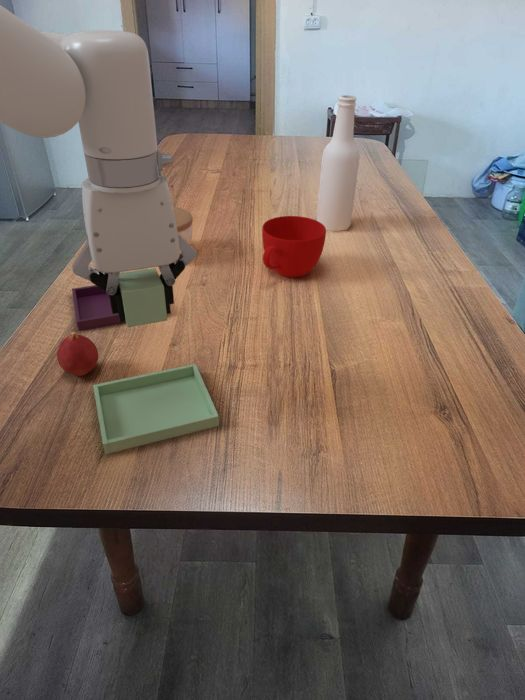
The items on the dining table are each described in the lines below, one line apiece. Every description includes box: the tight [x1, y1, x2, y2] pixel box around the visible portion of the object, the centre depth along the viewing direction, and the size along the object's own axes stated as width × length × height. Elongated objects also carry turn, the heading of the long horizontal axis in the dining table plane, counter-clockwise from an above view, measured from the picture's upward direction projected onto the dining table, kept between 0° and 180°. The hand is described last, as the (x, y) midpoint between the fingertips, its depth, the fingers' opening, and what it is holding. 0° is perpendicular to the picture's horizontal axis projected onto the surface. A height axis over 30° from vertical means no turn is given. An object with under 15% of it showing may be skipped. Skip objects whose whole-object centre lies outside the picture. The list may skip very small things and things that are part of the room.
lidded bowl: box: [173, 206, 194, 253], centre depth 107 cm, size 13×13×11 cm
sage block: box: [118, 267, 168, 328], centre depth 62 cm, size 5×5×5 cm
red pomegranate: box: [56, 331, 99, 377], centre depth 74 cm, size 6×6×8 cm
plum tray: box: [71, 284, 126, 332], centre depth 91 cm, size 15×12×2 cm
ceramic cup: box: [261, 215, 327, 279], centre depth 101 cm, size 13×17×10 cm
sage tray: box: [92, 363, 220, 455], centre depth 69 cm, size 15×12×2 cm
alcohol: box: [315, 94, 360, 232], centre depth 117 cm, size 9×9×30 cm
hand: (143, 311), depth 63 cm, fingers closed on sage block, 5 cm apart
